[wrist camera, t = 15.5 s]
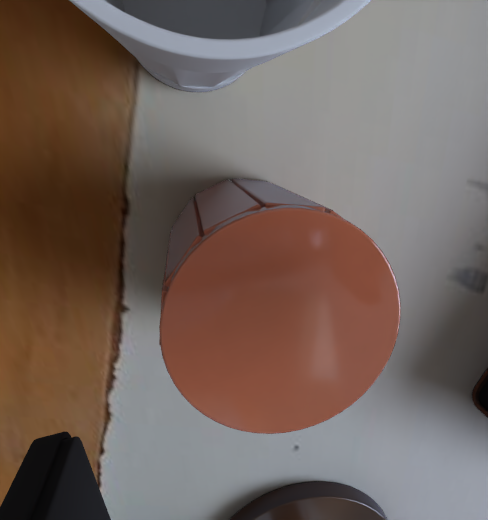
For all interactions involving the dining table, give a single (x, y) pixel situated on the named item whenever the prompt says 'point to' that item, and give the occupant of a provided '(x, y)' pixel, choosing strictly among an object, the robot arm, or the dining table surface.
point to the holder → (312, 504)
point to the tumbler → (273, 308)
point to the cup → (214, 33)
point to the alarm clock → (481, 394)
